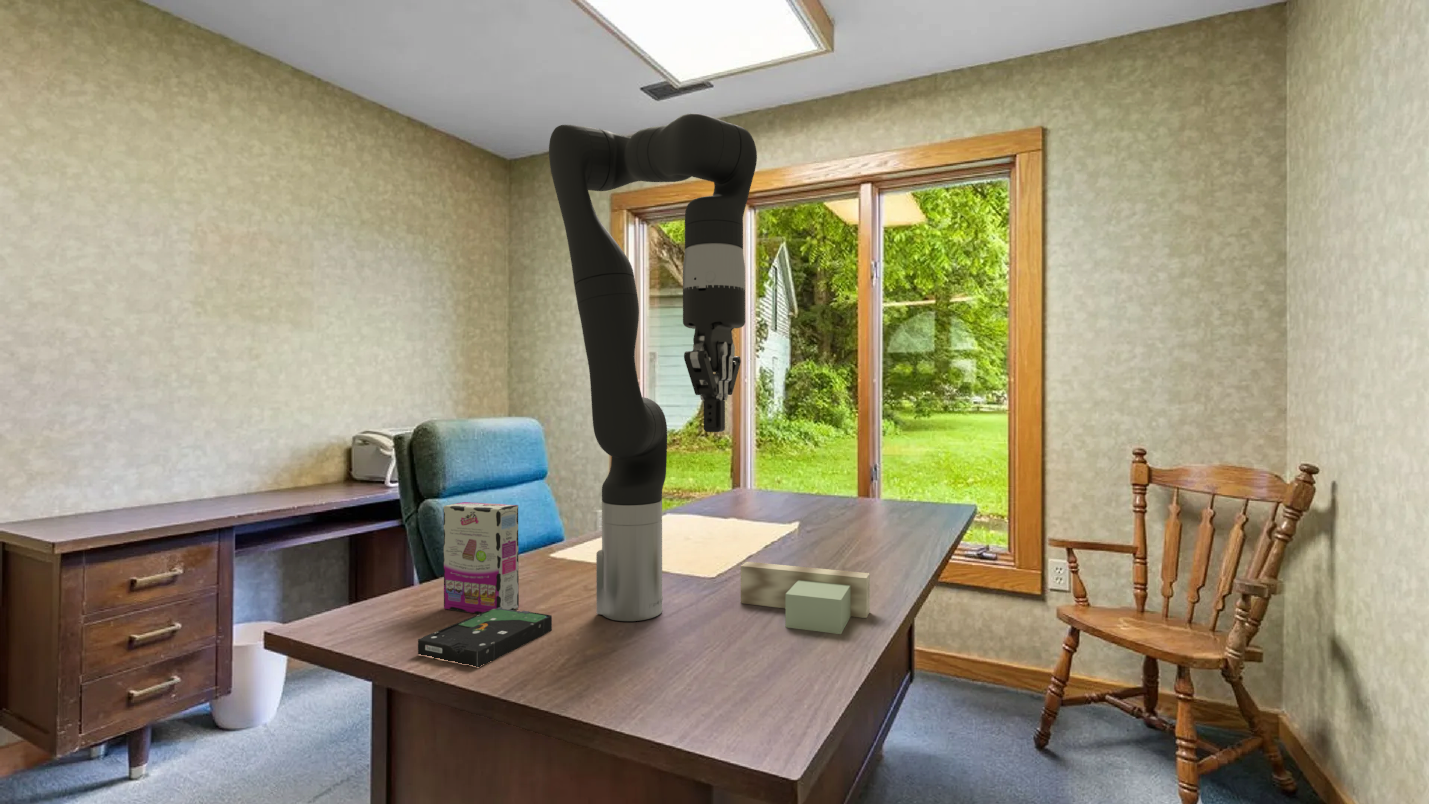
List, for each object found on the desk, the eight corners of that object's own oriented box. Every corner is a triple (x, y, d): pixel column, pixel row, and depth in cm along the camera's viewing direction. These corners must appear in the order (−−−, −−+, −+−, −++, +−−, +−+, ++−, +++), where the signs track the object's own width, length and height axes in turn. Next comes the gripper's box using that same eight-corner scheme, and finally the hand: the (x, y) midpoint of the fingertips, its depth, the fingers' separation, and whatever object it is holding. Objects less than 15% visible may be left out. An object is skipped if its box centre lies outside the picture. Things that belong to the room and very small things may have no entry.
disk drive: (479, 674, 81) (553, 632, 95) (479, 651, 81) (553, 613, 95) (416, 661, 85) (495, 623, 99) (415, 639, 85) (495, 604, 99)
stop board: (740, 603, 107) (740, 565, 107) (746, 597, 110) (746, 561, 110) (866, 618, 99) (866, 578, 99) (869, 612, 102) (869, 573, 102)
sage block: (785, 628, 96) (785, 593, 96) (798, 611, 103) (798, 579, 103) (840, 635, 93) (841, 600, 93) (850, 618, 100) (850, 585, 100)
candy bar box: (520, 608, 104) (520, 504, 104) (499, 618, 100) (498, 509, 100) (465, 600, 109) (464, 500, 109) (441, 609, 104) (441, 504, 104)
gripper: (706, 297, 87) (706, 428, 87) (661, 280, 75) (661, 434, 75) (760, 293, 85) (760, 429, 85) (723, 276, 72) (723, 435, 72)
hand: (714, 431), depth 80 cm, fingers closed
